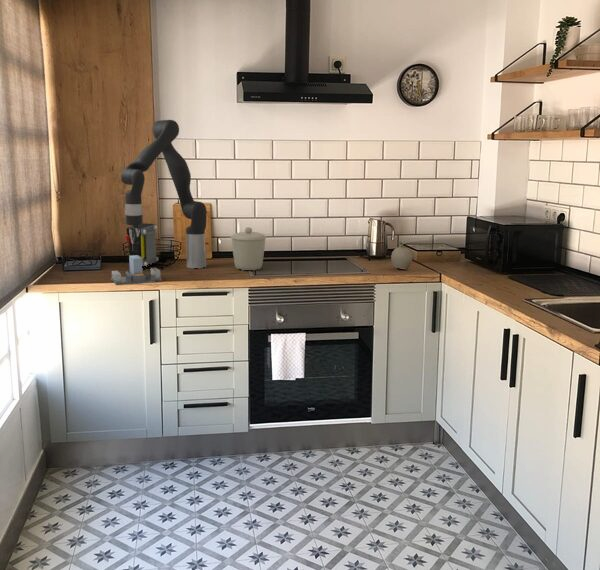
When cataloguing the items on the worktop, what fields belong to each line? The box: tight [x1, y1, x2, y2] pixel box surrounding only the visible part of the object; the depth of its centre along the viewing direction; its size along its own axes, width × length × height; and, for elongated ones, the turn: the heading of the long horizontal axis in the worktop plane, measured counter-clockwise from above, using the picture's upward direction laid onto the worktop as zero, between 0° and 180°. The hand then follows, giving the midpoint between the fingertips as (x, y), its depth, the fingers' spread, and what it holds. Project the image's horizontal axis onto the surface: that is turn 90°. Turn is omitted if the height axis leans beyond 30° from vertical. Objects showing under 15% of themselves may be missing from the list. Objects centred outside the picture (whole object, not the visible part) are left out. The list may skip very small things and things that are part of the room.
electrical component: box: [125, 222, 159, 267], centre depth 356 cm, size 18×10×20 cm, turn 168°
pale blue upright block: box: [128, 255, 144, 276], centre depth 321 cm, size 8×4×10 cm, turn 26°
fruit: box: [390, 241, 413, 269], centre depth 356 cm, size 10×12×15 cm
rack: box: [110, 267, 163, 286], centre depth 322 cm, size 12×21×4 cm, turn 116°
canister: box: [229, 226, 268, 271], centre depth 350 cm, size 18×18×21 cm
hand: (135, 251), depth 320 cm, fingers closed
